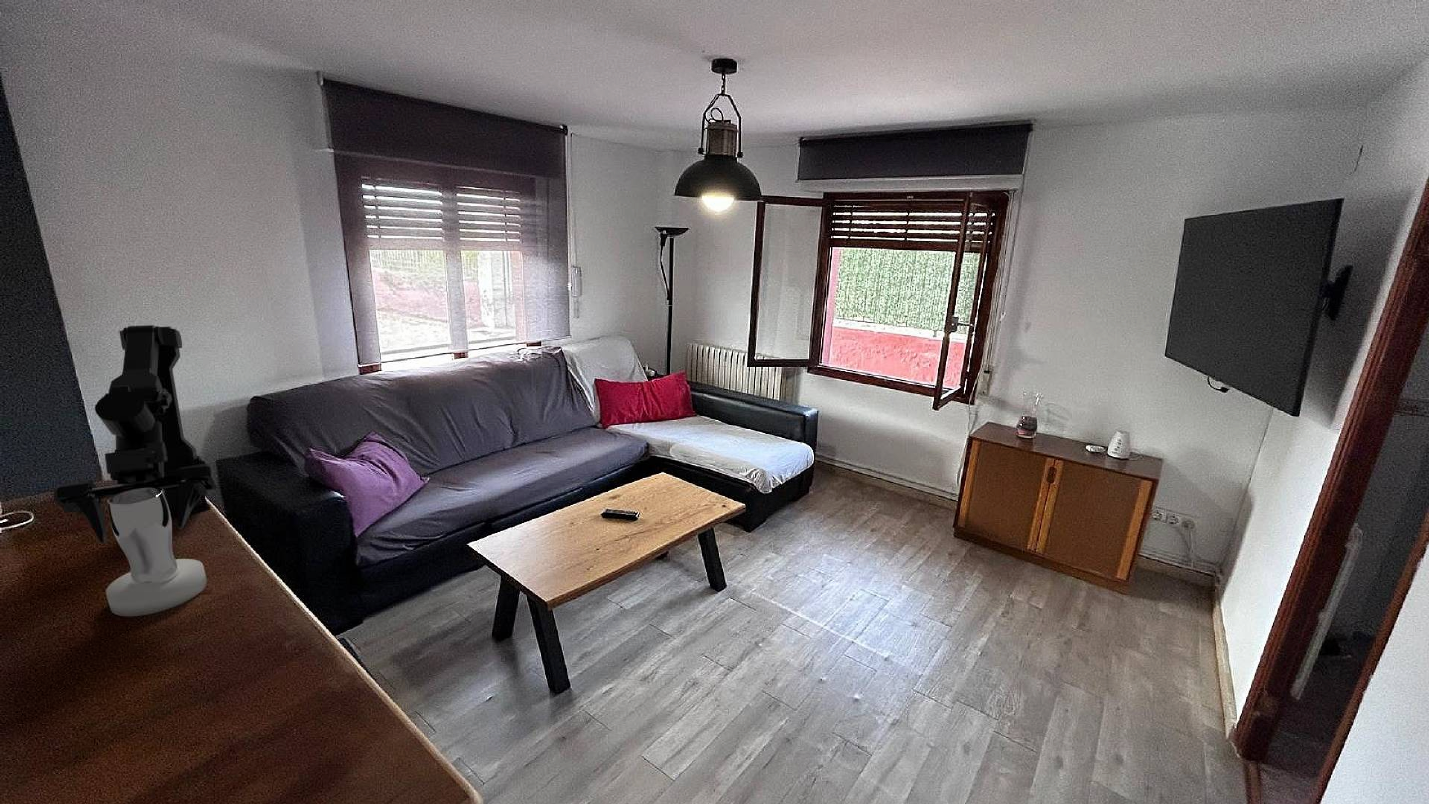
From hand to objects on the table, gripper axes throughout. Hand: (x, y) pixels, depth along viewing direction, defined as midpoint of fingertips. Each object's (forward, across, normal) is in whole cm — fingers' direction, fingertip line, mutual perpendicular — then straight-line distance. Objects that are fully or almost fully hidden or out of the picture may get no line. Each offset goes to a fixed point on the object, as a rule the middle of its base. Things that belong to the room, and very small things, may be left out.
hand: (142, 535), depth 95 cm
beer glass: (+5, 0, +8) cm, 9 cm away
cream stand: (+7, 0, +9) cm, 12 cm away
